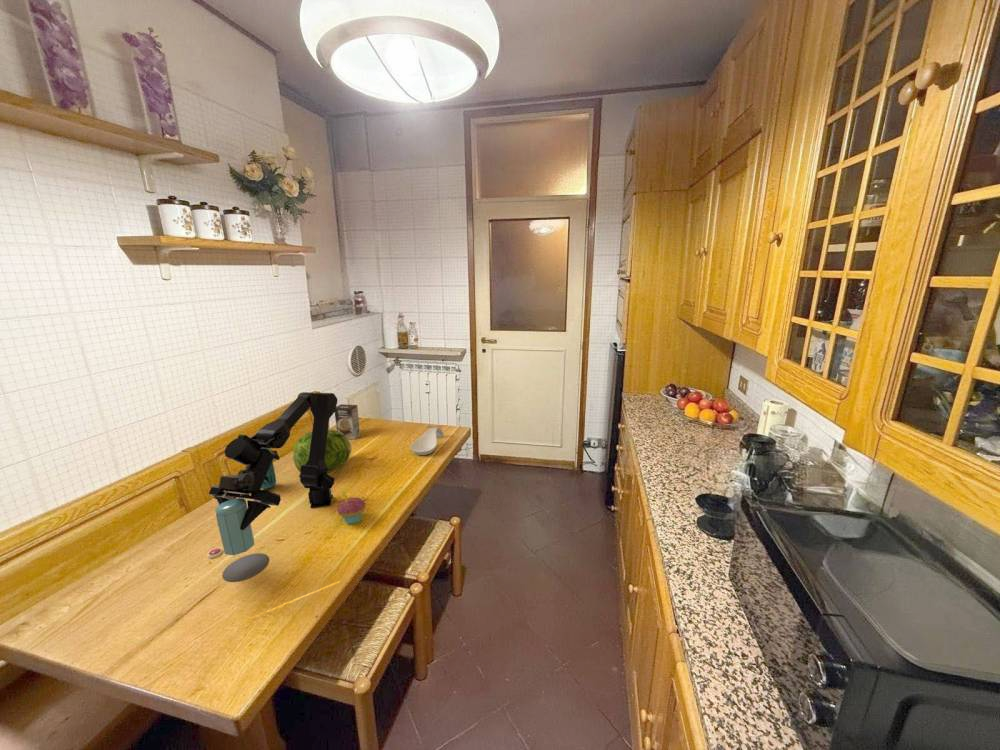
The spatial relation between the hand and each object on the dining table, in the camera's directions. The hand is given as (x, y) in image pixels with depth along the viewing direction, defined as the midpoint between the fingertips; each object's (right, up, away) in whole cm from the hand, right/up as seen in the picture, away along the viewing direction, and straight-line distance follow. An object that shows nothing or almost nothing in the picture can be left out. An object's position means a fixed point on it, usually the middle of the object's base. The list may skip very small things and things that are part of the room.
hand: (230, 528), depth 105 cm
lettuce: (-1, +1, +61) cm, 61 cm away
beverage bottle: (-17, -3, +46) cm, 49 cm away
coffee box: (-4, +9, +93) cm, 93 cm away
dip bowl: (-11, -12, +10) cm, 19 cm away
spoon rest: (+38, +7, +79) cm, 89 cm away
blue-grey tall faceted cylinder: (0, -6, +3) cm, 7 cm away
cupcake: (+23, -7, +25) cm, 35 cm away
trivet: (+1, -13, +4) cm, 13 cm away
